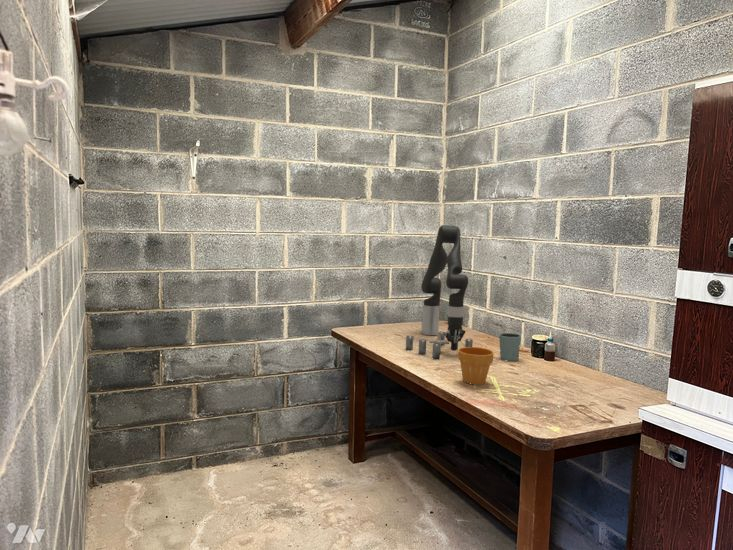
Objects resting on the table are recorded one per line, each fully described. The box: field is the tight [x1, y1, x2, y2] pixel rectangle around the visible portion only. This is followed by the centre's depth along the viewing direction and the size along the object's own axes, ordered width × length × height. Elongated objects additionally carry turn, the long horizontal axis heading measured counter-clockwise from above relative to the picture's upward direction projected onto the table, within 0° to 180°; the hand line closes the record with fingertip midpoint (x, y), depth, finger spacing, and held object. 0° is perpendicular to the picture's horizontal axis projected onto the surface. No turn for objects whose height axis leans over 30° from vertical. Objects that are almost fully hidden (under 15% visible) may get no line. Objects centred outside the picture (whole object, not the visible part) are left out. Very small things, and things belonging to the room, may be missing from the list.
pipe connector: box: [428, 331, 450, 352], centre depth 266 cm, size 10×10×10 cm
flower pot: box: [457, 346, 494, 385], centre depth 215 cm, size 14×14×13 cm
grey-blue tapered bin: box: [498, 332, 522, 362], centre depth 254 cm, size 10×10×12 cm
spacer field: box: [405, 331, 474, 360], centre depth 266 cm, size 24×26×7 cm
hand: (453, 350), depth 257 cm, fingers closed
